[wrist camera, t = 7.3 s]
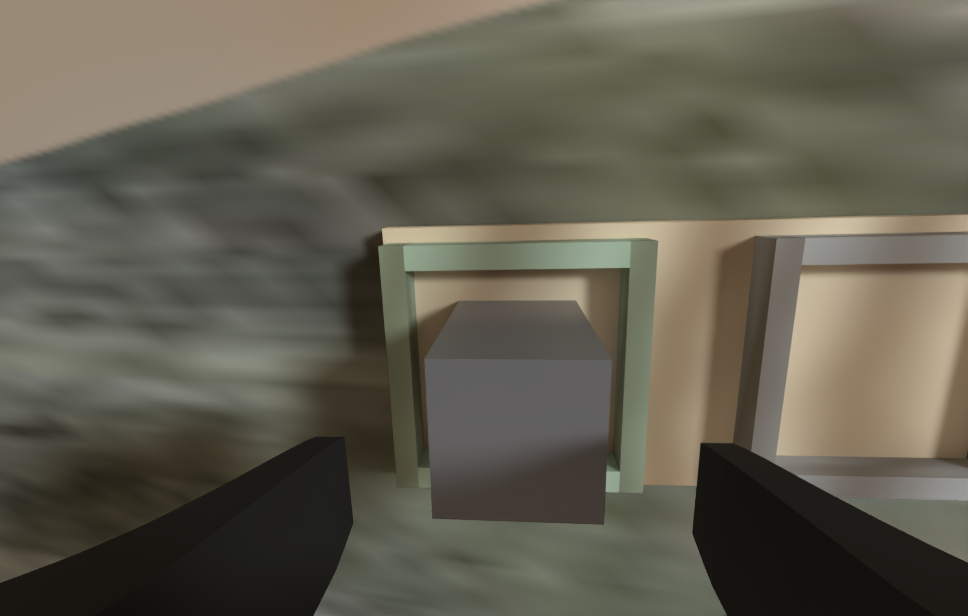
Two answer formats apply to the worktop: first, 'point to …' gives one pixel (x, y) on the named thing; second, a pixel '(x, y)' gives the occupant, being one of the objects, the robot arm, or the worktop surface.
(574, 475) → the plug
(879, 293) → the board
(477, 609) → the worktop surface
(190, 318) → the worktop surface
